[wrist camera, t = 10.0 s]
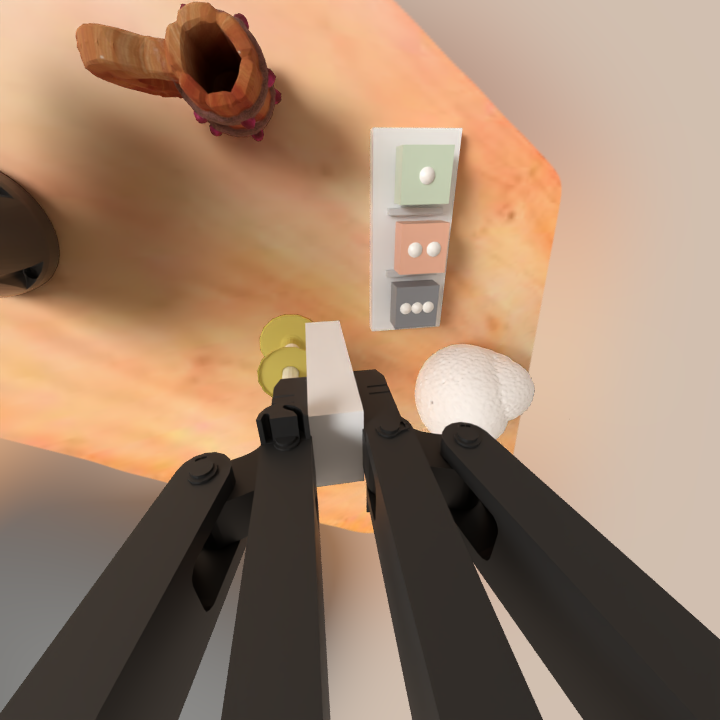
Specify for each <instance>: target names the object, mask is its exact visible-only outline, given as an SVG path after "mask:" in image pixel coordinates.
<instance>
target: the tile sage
mask: <svg viewBox="0 0 720 720" xmlns="http://www.w3.org/2000/svg"><path fill="white" fill-rule="evenodd" d="M454 150H455V145H400V146H397V147H396V166H395V194H394V204H398V205H422V204H449V196H450V187H451V177H452V168H453V159H454Z"/></svg>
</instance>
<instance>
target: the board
mask: <svg viewBox="0 0 720 720" xmlns="http://www.w3.org/2000/svg"><path fill="white" fill-rule="evenodd" d="M461 136H462V128H372V129H371V130H370V328H371V330H372V331H383V330H396V329H395V328H394V327H393V325H392V324H391V322H390V308H391V282H396V281H414V280H431V279H432V280H434V281H435V282H436V283H437V284H439V285H440V288H439V298H438V307H437V316H436V325H435V326H431V327H436V326H440V318H441V310H442V301H443V292H444V284H445V275H446V266H447V258H448V249H449V240H450V231H451V223H452V214H453V205H454V197H455V188H456V179H457V170H458V162H459V153H460V144H461ZM400 145H455V150H454V159H453V168H452V177H451V187H450V196H449V204H422V205H398V204H394V194H395V166H396V147H397V146H400ZM427 220H443V221H446V222H449V223H450V230H449V238H448V247H447V256H446V265H445V273H427V274H408V275H399V274H398V273H397V272H396V271H395V270H394V254H395V228H396V221H427ZM418 328H423V327H418ZM405 329H409V328H405Z"/></svg>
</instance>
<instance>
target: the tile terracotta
mask: <svg viewBox="0 0 720 720" xmlns="http://www.w3.org/2000/svg"><path fill="white" fill-rule="evenodd" d="M449 230H450V223H449V222H446V221H443V220H427V221H396V228H395V254H394V270H395V271H396V272H397V273H398V274H399V275H408V274H427V273H445V265H446V256H447V247H448V238H449Z"/></svg>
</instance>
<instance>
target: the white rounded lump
mask: <svg viewBox="0 0 720 720" xmlns="http://www.w3.org/2000/svg"><path fill="white" fill-rule="evenodd" d="M415 388H416V389H415V402H416V406H417V410H418V413H419V415H420V418H421V420H422V422H423V423H424V425H425V426H426V427H427V429H428V430H429V431H430V432H431V433H435V434H442V431H443V430H444V428H445V427H446V426H448V425H450V424H451V423H457V422H465V423H471V424H474V425H477V426H479V427H481V428H482V429H484V430H485V431H487V432H488V433H489V434H490V435H491V436H492V437H493V438H494V439H497V438H498V437H499V436H500V435H501V434H502V433H504V430H505V428H506V426H507V423H508V421H509V420H512V419H515V418H516V417H518V416H519V415H522V414H523V412H524V411H526V410H527V409H528V407H529V406H530V405H531V402H532V400H533V396H534V391H535V390H534V384H533V381H532V378H531V377H530V375H529V373H528V372H527V371H526V369H524V368H523V367H522V366H521V365H519V364H517V363H516V362H513V361H512V360H511V358H510V357H508V356H505V355H503V354H500V353H497V352H494V351H493V350H489V349H487V348H482V347H480V346H475V345H469V344H455V345H449V346H448V347H444V348H443V349H441V350H438V351H437V352H436V353H434V354H432V356H430V357H429V358H428V360H427V361H425V363H424V365H423V366H422V368H421V369H420V372H419V374H418V376H417V380H416V385H415Z"/></svg>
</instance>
